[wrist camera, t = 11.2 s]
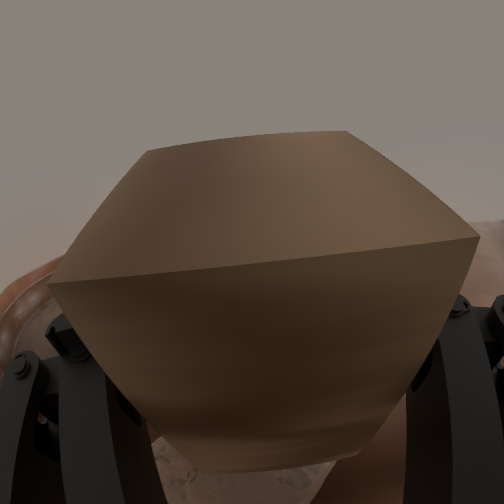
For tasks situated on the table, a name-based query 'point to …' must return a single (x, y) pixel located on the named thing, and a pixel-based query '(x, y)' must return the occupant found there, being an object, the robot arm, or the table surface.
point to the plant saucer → (28, 324)
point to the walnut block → (265, 294)
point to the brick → (235, 482)
